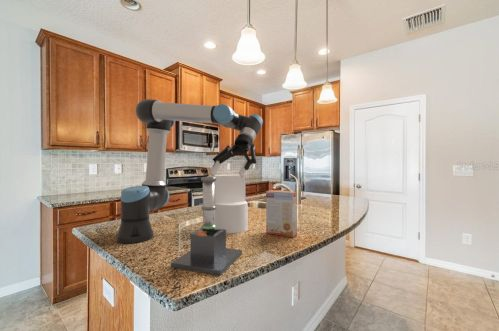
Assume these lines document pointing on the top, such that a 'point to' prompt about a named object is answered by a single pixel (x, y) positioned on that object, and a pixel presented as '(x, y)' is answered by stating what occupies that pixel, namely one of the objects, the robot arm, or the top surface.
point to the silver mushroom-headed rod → (208, 205)
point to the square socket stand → (208, 253)
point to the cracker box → (281, 213)
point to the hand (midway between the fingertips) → (225, 174)
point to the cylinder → (231, 203)
